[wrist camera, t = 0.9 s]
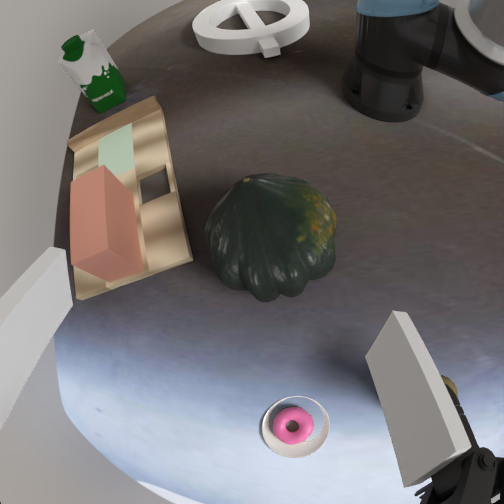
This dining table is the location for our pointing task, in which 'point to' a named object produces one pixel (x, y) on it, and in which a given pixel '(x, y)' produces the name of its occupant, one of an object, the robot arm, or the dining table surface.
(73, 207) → the brick
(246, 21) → the ring with crossbar
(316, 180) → the dining table surface
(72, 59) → the milk carton
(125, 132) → the pad
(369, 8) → the robot arm
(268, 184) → the squash
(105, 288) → the board
